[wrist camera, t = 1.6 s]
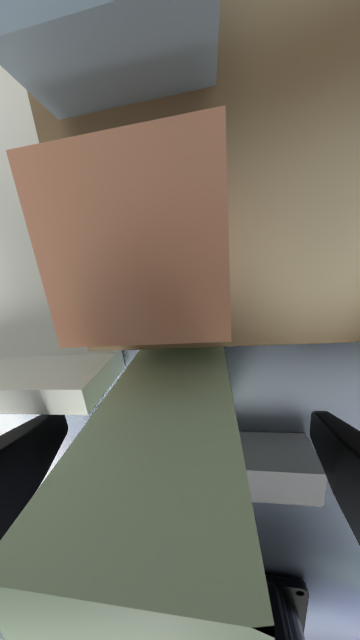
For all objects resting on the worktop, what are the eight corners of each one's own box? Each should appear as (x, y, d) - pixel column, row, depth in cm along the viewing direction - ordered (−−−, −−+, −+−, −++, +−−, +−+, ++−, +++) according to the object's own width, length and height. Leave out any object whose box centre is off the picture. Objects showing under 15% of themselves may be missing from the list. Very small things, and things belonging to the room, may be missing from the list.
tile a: (224, 316, 6) (231, 341, 4) (101, 323, 7) (60, 347, 5) (218, 162, 5) (225, 104, 3) (72, 185, 6) (5, 150, 4)
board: (416, 313, 8) (507, 337, 5) (117, 328, 10) (88, 351, 7) (538, -218, 4) (912, -755, 2) (48, -45, 6) (-49, -229, 4)
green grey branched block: (314, 335, 9) (851, 725, 1) (302, 461, 10) (507, 901, 3) (73, 344, 10) (-242, 547, 3) (100, 452, 12) (-54, 733, 5)
